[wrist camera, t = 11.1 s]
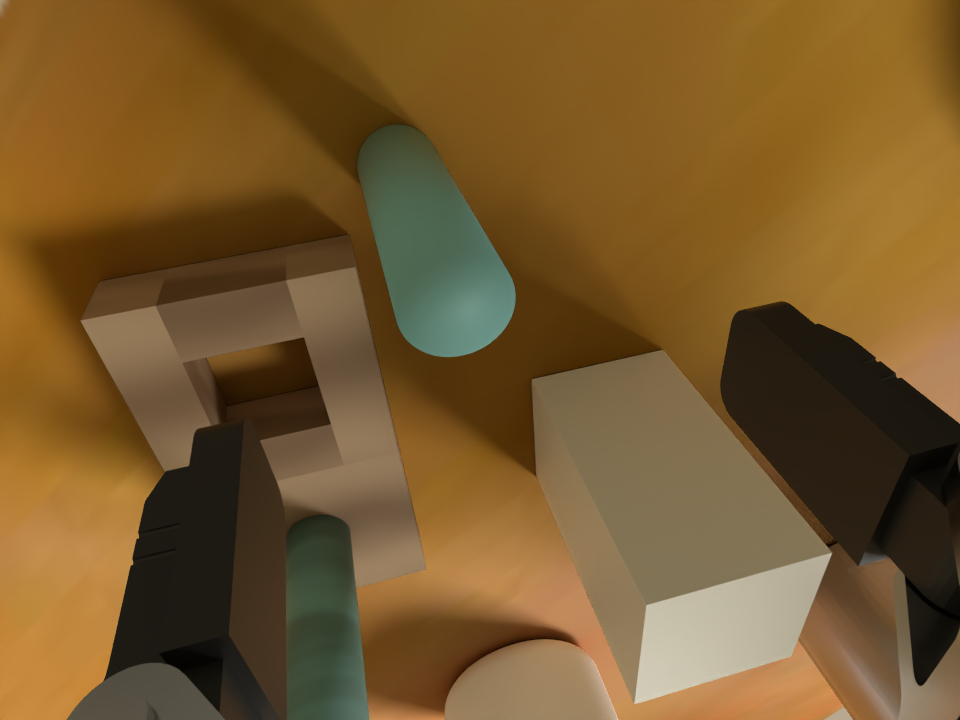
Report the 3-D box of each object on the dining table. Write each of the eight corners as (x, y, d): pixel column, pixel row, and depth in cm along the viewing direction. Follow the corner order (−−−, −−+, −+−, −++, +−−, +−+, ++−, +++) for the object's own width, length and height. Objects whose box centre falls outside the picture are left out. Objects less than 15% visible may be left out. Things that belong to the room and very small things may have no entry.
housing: (652, 448, 32) (791, 656, 23) (536, 476, 31) (634, 704, 22) (663, 349, 28) (832, 552, 19) (531, 379, 27) (646, 605, 18)
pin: (442, 197, 22) (518, 343, 14) (365, 210, 21) (405, 367, 14) (431, 118, 20) (512, 238, 13) (349, 131, 20) (384, 263, 13)
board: (419, 535, 31) (470, 781, 22) (251, 578, 30) (237, 854, 21) (390, 412, 26) (441, 664, 18) (190, 458, 25) (139, 751, 17)
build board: (390, 412, 26) (398, 452, 24) (190, 458, 25) (182, 503, 23) (349, 234, 22) (355, 266, 20) (99, 281, 20) (80, 320, 19)
